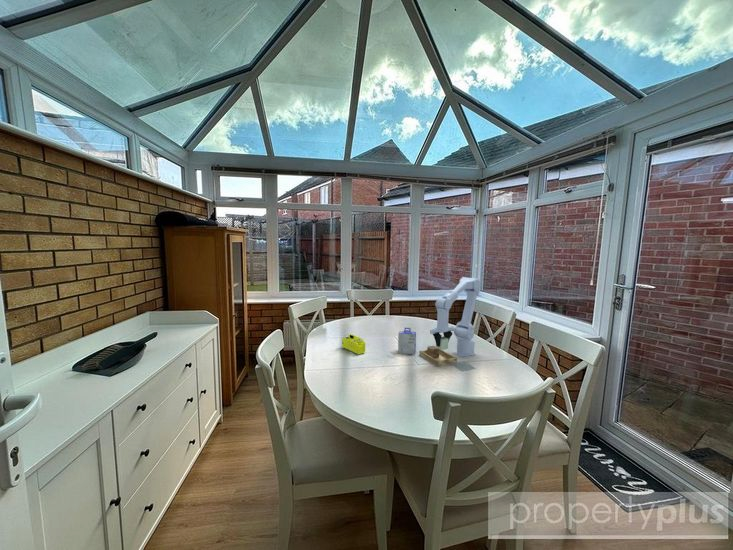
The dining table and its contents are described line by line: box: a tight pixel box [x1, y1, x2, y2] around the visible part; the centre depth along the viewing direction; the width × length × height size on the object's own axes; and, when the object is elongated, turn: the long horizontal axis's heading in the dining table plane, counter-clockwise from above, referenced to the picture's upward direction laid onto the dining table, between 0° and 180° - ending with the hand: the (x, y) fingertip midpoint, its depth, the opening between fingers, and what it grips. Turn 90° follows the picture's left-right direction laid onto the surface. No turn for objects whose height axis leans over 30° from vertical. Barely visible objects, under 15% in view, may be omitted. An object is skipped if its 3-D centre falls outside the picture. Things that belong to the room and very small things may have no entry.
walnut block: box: [426, 345, 439, 358], centre depth 167 cm, size 4×5×5 cm
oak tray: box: [418, 349, 458, 367], centre depth 164 cm, size 13×17×3 cm
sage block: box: [435, 335, 449, 351], centre depth 159 cm, size 4×4×6 cm
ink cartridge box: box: [397, 327, 417, 355], centre depth 173 cm, size 10×6×14 cm, turn 76°
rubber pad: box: [449, 361, 477, 372], centre depth 154 cm, size 9×9×1 cm
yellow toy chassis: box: [341, 333, 366, 355], centre depth 177 cm, size 16×6×8 cm, turn 40°
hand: (442, 345), depth 160 cm, fingers closed on sage block, 4 cm apart
